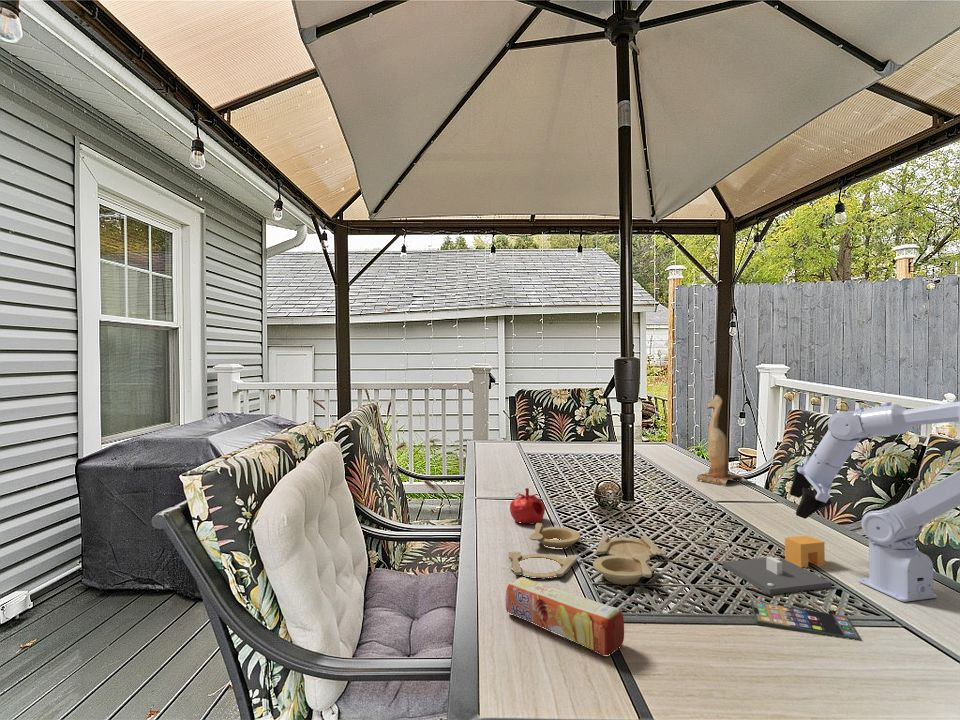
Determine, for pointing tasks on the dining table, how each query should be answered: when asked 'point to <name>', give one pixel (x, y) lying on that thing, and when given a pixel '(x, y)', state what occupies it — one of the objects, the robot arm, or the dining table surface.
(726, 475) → the bird sculpture
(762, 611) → the smartphone
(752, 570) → the plate
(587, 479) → the dining table surface
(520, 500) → the pomegranate
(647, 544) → the tableware set
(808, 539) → the orange block
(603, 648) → the snack package
